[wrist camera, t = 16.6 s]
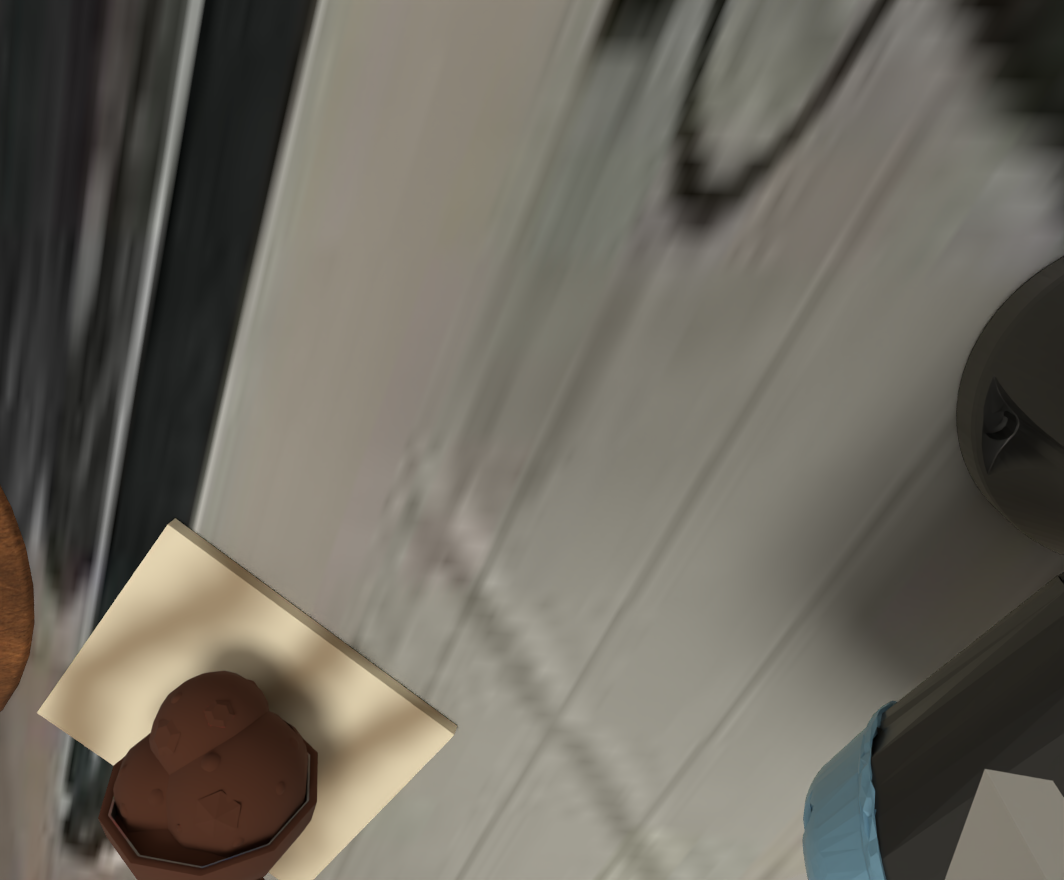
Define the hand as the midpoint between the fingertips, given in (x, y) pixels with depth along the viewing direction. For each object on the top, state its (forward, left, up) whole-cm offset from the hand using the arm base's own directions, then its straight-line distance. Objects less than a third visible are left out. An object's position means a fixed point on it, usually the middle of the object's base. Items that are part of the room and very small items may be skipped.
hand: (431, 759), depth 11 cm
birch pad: (0, +32, -31) cm, 45 cm away
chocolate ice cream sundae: (-5, +39, -26) cm, 47 cm away
